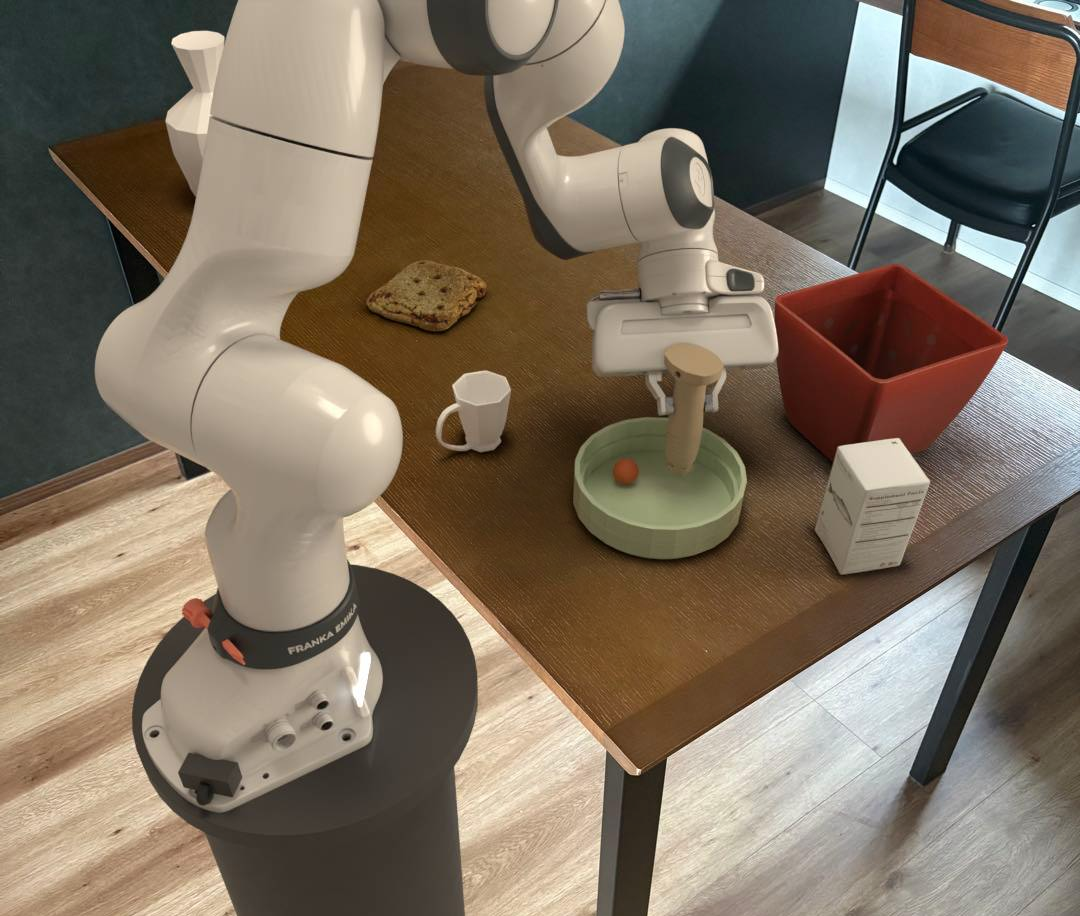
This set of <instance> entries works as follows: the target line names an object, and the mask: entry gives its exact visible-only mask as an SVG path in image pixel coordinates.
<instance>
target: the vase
mask: <svg viewBox="0 0 1080 916" xmlns="http://www.w3.org/2000/svg"><path fill="white" fill-rule="evenodd" d="M224 44H225V36H224V35H223V34H222V33H220V32H216V31H211V30H193V31H192V30H191V31H187V32H184V33H180V34H178V35H176V36H174V37H173V38H172V39H171V47H172V48H173V50H174V53H175V55H176V56H177V59H178V60H179V62H180V64H181V66H182V68H183V70H184V72H185V74H186V77H187V78H188V80H189V82H190V84H191V86H192V88H191V89H190V90H189V91H188V92H187V93H186V94H185V95H184V96H183V97H182V98H181V99H179V100H178V101H177V102H176V103H175V104H174V105H173V106H172V107H170V108H169V110H167V113H166V117H165V125H166V130H167V133H168V138H169V142H170V143H169V144H170V146H171V151H172V153H173V156H174V158H175V160H176V162H177V164H178V166H179V168H180V170H181V172H182V174H183V175H184V177H185V179H186V182H187V184H188V186H189V189H190V191H191V192H192V194H193V195H194V197H196V196H197V190H198V185H199V179H200V174H201V168H202V162H203V156H204V150H205V144H206V138H207V131H208V124H209V117H210V116H212V115H211V114H210V110H211V104H212V98H213V92H214V87H215V82H216V77H217V73H218V68H219V63H220V59H221V56H222V52H223V48H224Z"/></svg>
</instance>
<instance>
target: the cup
mask: <svg viewBox="0 0 1080 916" xmlns="http://www.w3.org/2000/svg"><path fill="white" fill-rule="evenodd" d="M451 387H452V391H453V395H454V399H455V403H453V404H451V405H449V406H447V407H445V409H444V410H442V412H441V413H440V415H439V417H438V418H437V422H436V426H435V438H436V440H437V442H438V443H439V444H440V445H442V447H444V448H446V449H448V450H451V451H456V452H467V451H469V450H473V451H476V452H479V453H484V452H490V451H495V449H496V448H497V447H498V446H499V445H500V444H502V438H501V436H502V435H503V432H504V429H505V426H506V422H507V417H508V411H509V405H510V400H511V393H512V389H511V386H510V383H509V381H508V379H507V377H506V376H504V375H501V374H498V373H495V372H493V371H489V370H486V369H485V370H479V371H473V372H466V373H463V374H462V375H461V376H460V377H459V378H458V379H457V380H456V381H455V382H454V383H453V384H451ZM456 412H457V415H458V418H459V421H460V423H461V426H462V429H463V432H464V435H465V436H464V439H465V442H466V443H465V444H463V445H455V444H449V443H446V442H444V441H443V438H442V434H443V427H444V423H445V422H446V420H447V418H448V416H450V415H451V414H452V413H456Z"/></svg>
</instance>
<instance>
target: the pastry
mask: <svg viewBox="0 0 1080 916" xmlns="http://www.w3.org/2000/svg"><path fill="white" fill-rule="evenodd" d="M486 288H487V282H485V281H484V280H483V279H482V278H480V277H479V276H477V275H476V274H474V273H473V274H472V273H471V272H468V271H467V270H464V269H463V268H460V267H457V266H452V265H446V264H443V263H439V262H437V261H433V260H425V259H423V260H417V261H415V262H412V263H410V264H408V265H407V266H406V267H405V268H403V269H402V270H401V271H399V272H398V273H396V275H395V276H394V277H392V279H390V280H389V281H388V282H387V283H383V285H382V286H380V287H379V288H378V289H376V290H374V291H372V292H371V293H370V294H369V295H368V296H367V299H366V301H365V304H366V306H367V308H368V310H370V311H371V312H372V313H375V314H376V315H380V316H382V317H384V318H386V319H389V320H391V321H392V322H393V321H394V322H399V323H400V324H407V325H411V326H413V327H415V328H416V327H419V329H422V330H425V331H427V332H428V331H429V332H443V331H446V330H448V329H450V328H451V327H452V326H453V325H454V324H455V323H457V322H458V320H459V319H460V318H461V317H464V316H466V315H468V314H469V313H470V312H471V310H472V308H474V307H475V306H476V305H477V300H476V299H477V298H482V297H484V296H485V295H486Z"/></svg>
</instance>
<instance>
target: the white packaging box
mask: <svg viewBox="0 0 1080 916" xmlns="http://www.w3.org/2000/svg"><path fill="white" fill-rule="evenodd" d="M829 473H830V474H829V477H828V481H827V485H826V488H825V491H824V495H823V499H822V503H821V506H820V509H819V513H818V517H817V520H816V524H815V527H814V531H815V533H816V535H817V537H818V538H819V539H820V541H821V542H822V544H823V546H824V548H825V550H826V551H827V553H828V555H829V556H830V558H831V560H832V562H833V564H834V566H835V567H836V570H837V571H838V574H839V575H850V574H856V573H862V572H869V571H870V572H871V571H875V570H882V569H887V568H895V567H899V566H900V565H901V563H902V561H903V558H904V554H905V552H906V550H907V547H908V544H909V541H910V539H911V536H912V533H913V530H914V528H915V525H916V523H917V520H918V516H919V514H920V511H921V508H922V506H923V503H924V500H925V498H926V495H927V492H928V490H929V487H930V485H931V480H930V479H929V477H928V476H927V475H926V474H925V472H924V471H923V469H922V468H921V467H920V465H919V463H918V462H917V461H916V459H915V458H914V457H913V454H912V455H911V454H910V453H909V451H908V450H907V448H906V447H905V446H904V444H903V443H902V441H901V440H900V439H899V438H894V439H885V440H878V441H871V442H864V443H857V444H850V445H843V446H838V447H837V452H836V455H835V459H834V463H833V462H832V467H831V470H830V472H829Z"/></svg>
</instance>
